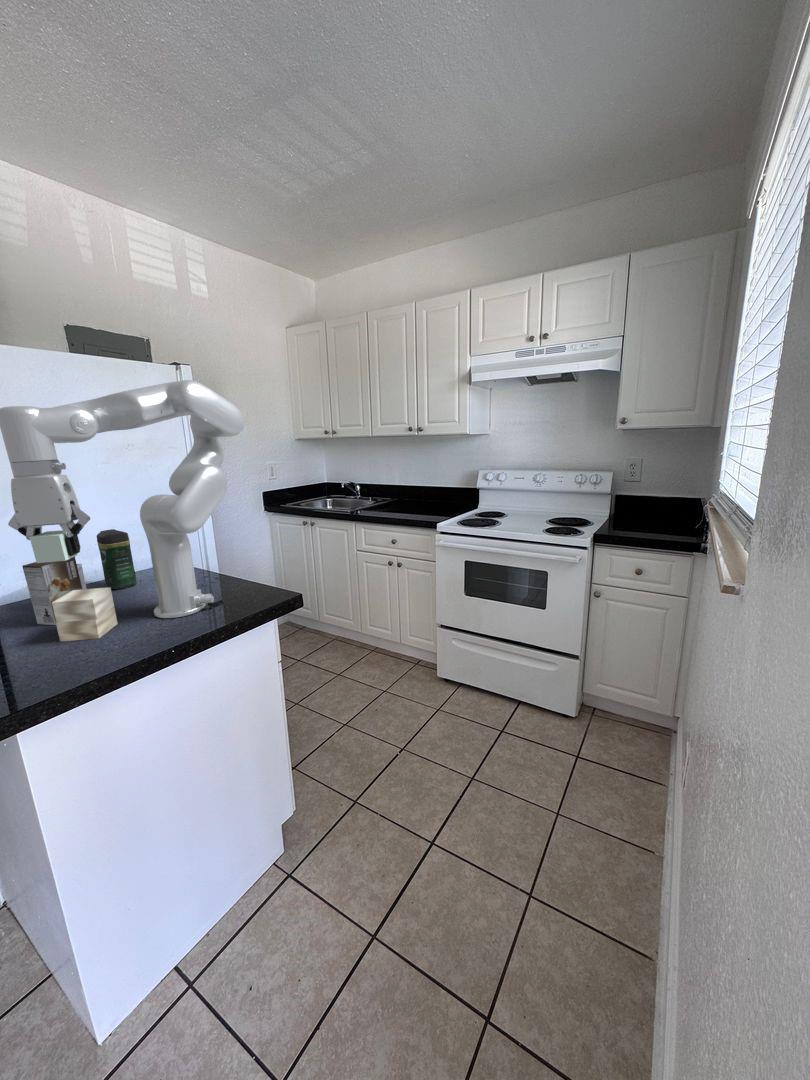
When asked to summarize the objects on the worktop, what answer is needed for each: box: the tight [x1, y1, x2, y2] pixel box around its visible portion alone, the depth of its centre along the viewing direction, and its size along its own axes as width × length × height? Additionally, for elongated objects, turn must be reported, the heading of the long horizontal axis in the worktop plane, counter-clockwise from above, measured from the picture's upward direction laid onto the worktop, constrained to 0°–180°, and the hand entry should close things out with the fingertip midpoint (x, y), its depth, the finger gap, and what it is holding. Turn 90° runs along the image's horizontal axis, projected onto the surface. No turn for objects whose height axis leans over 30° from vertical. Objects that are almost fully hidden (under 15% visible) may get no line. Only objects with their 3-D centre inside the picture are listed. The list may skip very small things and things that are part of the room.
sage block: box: [29, 529, 82, 563], centre depth 91 cm, size 6×6×6 cm
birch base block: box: [55, 605, 119, 642], centre depth 105 cm, size 8×8×5 cm
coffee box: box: [21, 556, 82, 626], centre depth 113 cm, size 9×6×16 cm
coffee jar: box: [96, 528, 138, 590], centre depth 138 cm, size 10×8×19 cm
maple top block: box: [52, 586, 115, 623], centre depth 103 cm, size 8×8×5 cm
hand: (58, 554), depth 92 cm, fingers closed on sage block, 5 cm apart
